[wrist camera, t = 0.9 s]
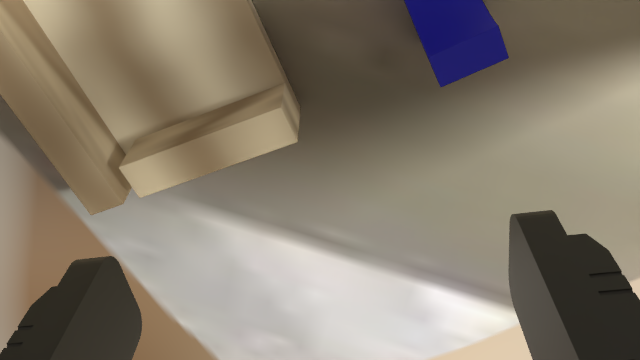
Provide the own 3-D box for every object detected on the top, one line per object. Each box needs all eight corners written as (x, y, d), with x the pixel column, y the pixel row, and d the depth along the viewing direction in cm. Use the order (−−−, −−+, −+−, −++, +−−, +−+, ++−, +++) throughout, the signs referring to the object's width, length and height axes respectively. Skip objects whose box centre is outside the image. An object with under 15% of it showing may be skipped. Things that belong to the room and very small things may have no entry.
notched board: (123, -279, 23) (87, -297, 19) (300, 107, 31) (297, 141, 28) (-111, -149, 25) (-179, -144, 22) (114, 176, 34) (91, 215, 30)
